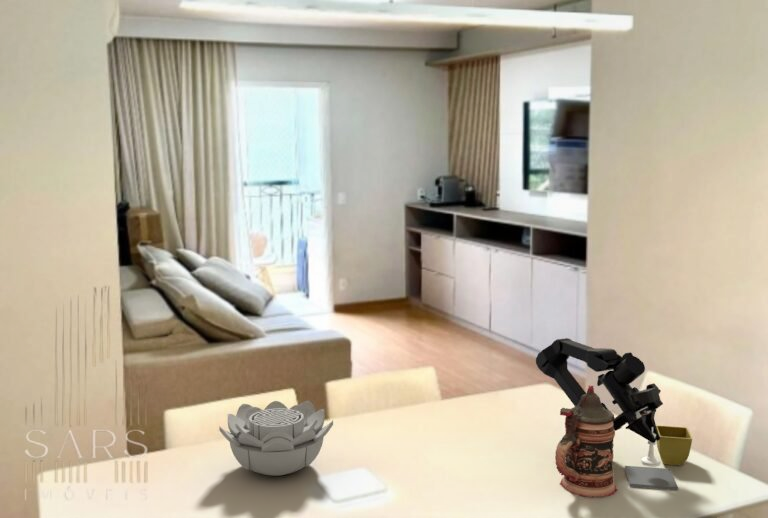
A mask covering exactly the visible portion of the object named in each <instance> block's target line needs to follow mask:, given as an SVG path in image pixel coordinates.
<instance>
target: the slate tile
mask: <svg viewBox="0 0 768 518" xmlns="http://www.w3.org/2000/svg"><path fill="white" fill-rule="evenodd" d="M624 472H625V475H626V478H627V483H628V487H630V488H645V489H657V490H670V491H671V490H673V491H678V490H679V487H678V484H677V482H676V480H675V477H674V474H673V472H672V470H671V468H663V467H651V466H637V465H635V466H634V465H624Z"/></svg>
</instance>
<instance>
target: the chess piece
mask: <svg viewBox="0 0 768 518" xmlns="http://www.w3.org/2000/svg"><path fill="white" fill-rule="evenodd" d="M653 428H654V427H652V434H653V436H654V438H655V437H656V434H655V433H653ZM647 444H648V445H649V446H648V451H647V455H646V456H643V457H641V459H640V463H641V464H642V465H643V466H645V467H652V468H657V467H659V466H660V465H661V461H660V459H658V458H657V457H655V452H654V450H655V449H654V446H655V445H657V442H654V443H652V442H650V441H648V440H647Z"/></svg>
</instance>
